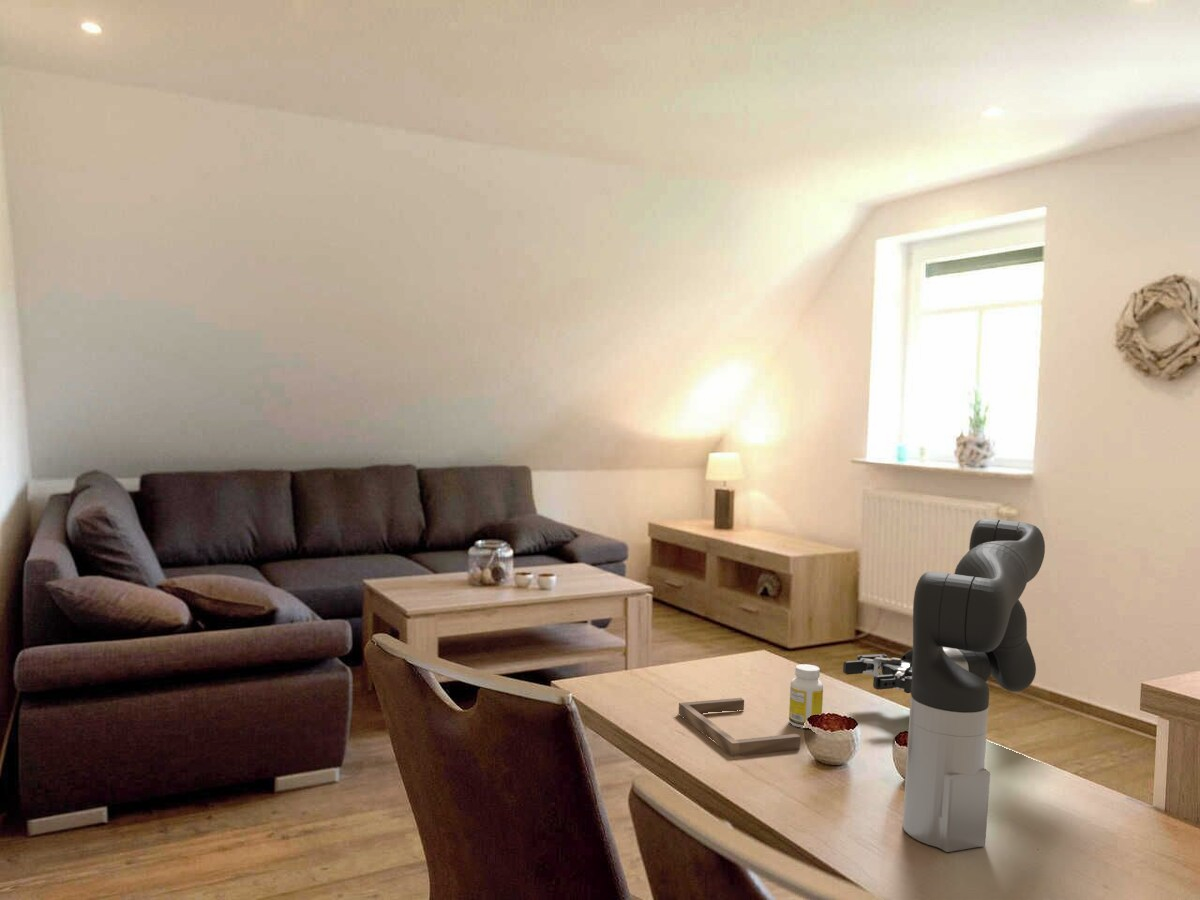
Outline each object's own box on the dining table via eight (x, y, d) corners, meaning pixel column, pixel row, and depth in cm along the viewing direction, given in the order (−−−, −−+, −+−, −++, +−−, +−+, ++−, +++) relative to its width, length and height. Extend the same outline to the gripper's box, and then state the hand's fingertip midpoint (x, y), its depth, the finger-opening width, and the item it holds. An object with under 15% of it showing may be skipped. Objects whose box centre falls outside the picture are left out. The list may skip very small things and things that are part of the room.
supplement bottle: (818, 720, 158) (822, 664, 158) (823, 731, 153) (826, 673, 152) (786, 717, 159) (790, 661, 158) (790, 728, 153) (793, 670, 153)
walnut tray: (799, 749, 144) (800, 736, 144) (731, 756, 140) (732, 743, 140) (740, 709, 162) (740, 697, 162) (678, 714, 158) (679, 702, 158)
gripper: (909, 638, 171) (835, 643, 166) (964, 659, 158) (886, 665, 152) (907, 677, 172) (833, 684, 166) (962, 702, 159) (884, 710, 153)
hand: (859, 675), depth 159 cm, fingers open, 8 cm apart
